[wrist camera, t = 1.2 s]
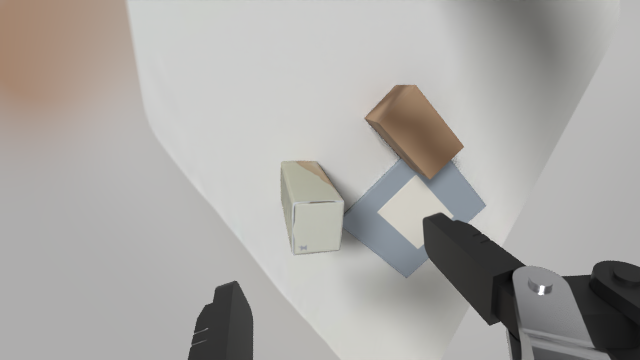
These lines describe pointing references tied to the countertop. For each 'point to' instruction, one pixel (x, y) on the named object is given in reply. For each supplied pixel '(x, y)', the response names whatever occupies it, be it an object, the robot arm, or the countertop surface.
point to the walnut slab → (414, 130)
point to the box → (310, 208)
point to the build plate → (408, 212)
